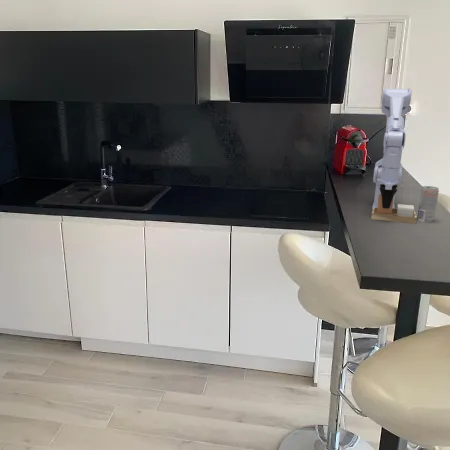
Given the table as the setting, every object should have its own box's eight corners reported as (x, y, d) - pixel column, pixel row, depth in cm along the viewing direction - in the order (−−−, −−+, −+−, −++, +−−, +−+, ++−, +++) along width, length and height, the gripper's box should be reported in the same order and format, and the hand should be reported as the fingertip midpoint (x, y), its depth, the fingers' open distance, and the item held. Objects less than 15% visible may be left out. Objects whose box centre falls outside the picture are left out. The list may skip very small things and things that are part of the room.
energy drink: (429, 220, 160) (434, 186, 156) (436, 224, 155) (442, 189, 151) (414, 219, 160) (419, 185, 156) (421, 224, 154) (426, 189, 151)
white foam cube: (396, 216, 161) (397, 204, 160) (411, 218, 159) (413, 205, 158) (396, 220, 156) (397, 207, 155) (412, 221, 155) (414, 208, 153)
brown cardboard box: (391, 211, 161) (393, 195, 159) (391, 215, 157) (393, 197, 155) (377, 210, 162) (378, 194, 161) (376, 213, 158) (378, 196, 156)
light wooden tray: (372, 214, 165) (373, 206, 165) (414, 218, 161) (415, 210, 160) (371, 220, 157) (372, 212, 156) (415, 225, 153) (416, 216, 152)
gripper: (379, 163, 163) (374, 201, 167) (377, 169, 150) (373, 210, 153) (400, 165, 160) (395, 202, 164) (400, 171, 147) (395, 212, 151)
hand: (386, 206), depth 159 cm, fingers closed on brown cardboard box, 5 cm apart
